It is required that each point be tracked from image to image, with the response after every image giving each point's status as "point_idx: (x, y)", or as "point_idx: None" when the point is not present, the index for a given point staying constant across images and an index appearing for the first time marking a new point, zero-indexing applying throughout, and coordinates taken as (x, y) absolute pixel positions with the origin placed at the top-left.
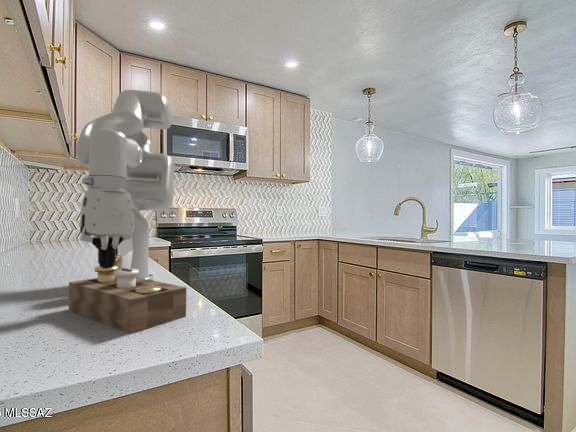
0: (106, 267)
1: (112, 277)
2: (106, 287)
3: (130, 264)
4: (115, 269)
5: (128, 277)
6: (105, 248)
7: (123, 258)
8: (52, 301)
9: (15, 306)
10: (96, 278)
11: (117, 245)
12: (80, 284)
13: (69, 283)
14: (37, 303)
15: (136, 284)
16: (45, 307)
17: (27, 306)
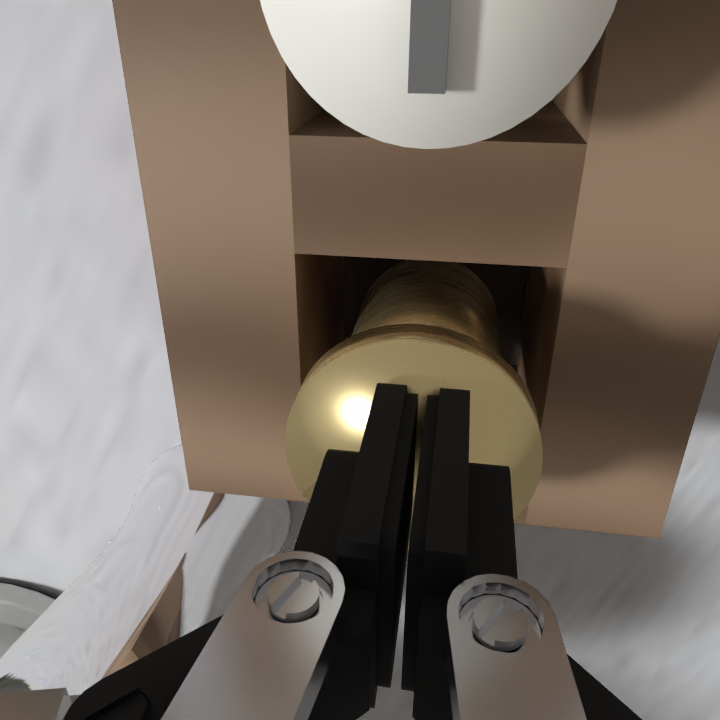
0: (467, 392)
1: (404, 320)
2: (670, 15)
3: (45, 611)
4: (376, 335)
5: None
6: (475, 598)
7: (86, 660)
8: None
9: (705, 669)
10: None
11: (247, 597)
12: (685, 384)
13: (657, 525)
14: (612, 640)
15: None
16: (644, 547)
17: (677, 629)
